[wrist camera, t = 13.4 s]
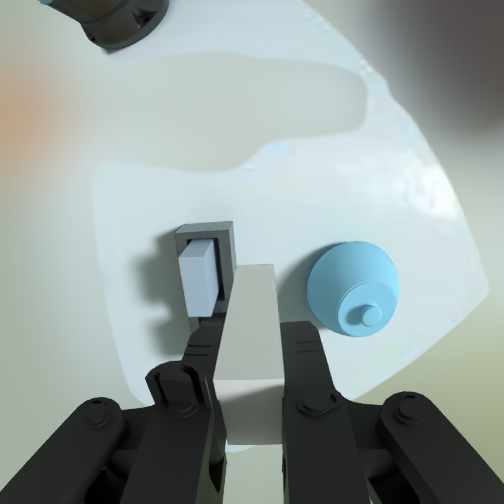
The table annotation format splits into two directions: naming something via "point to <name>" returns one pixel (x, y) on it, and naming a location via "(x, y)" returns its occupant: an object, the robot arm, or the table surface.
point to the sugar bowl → (353, 289)
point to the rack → (226, 263)
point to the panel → (200, 276)
